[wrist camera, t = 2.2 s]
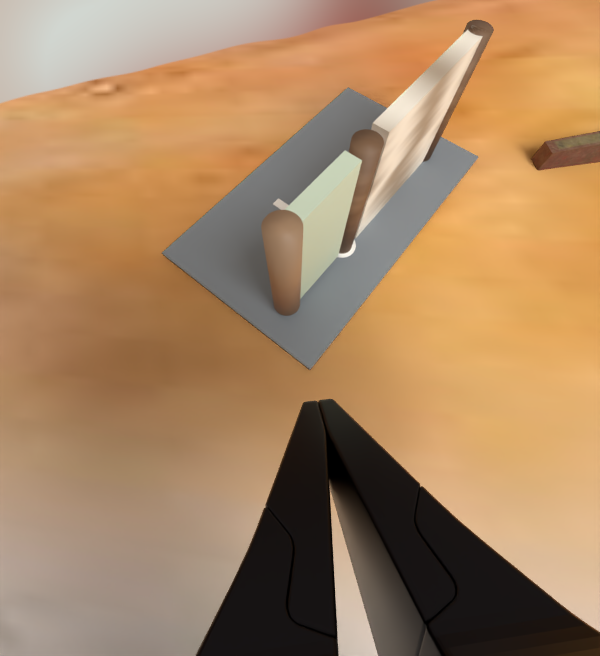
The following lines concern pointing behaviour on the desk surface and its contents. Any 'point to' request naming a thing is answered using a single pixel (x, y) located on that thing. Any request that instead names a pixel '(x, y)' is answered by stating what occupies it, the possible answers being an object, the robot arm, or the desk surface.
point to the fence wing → (308, 233)
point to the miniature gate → (568, 151)
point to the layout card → (277, 194)
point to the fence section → (410, 129)
